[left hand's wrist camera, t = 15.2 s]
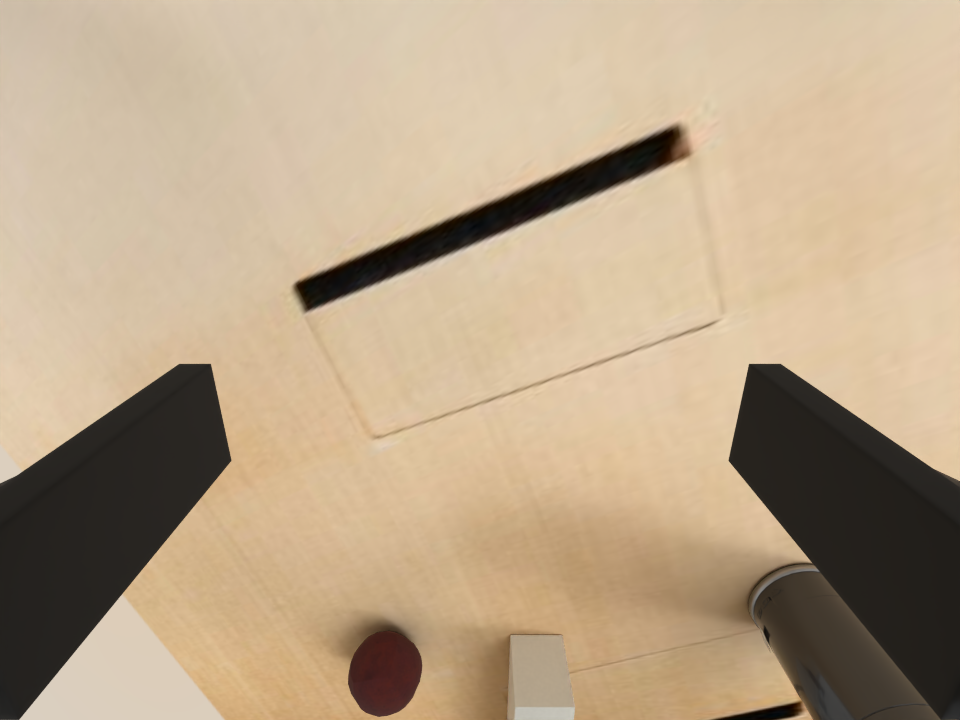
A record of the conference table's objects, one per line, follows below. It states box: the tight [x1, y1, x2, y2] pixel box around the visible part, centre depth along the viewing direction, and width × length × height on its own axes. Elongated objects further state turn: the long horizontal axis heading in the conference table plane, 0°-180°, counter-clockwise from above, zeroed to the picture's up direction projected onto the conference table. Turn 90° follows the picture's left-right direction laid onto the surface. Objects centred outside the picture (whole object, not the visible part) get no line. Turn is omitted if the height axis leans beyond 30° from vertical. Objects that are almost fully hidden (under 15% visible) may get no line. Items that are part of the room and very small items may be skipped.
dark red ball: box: [348, 631, 422, 717], centre depth 52 cm, size 7×8×7 cm
